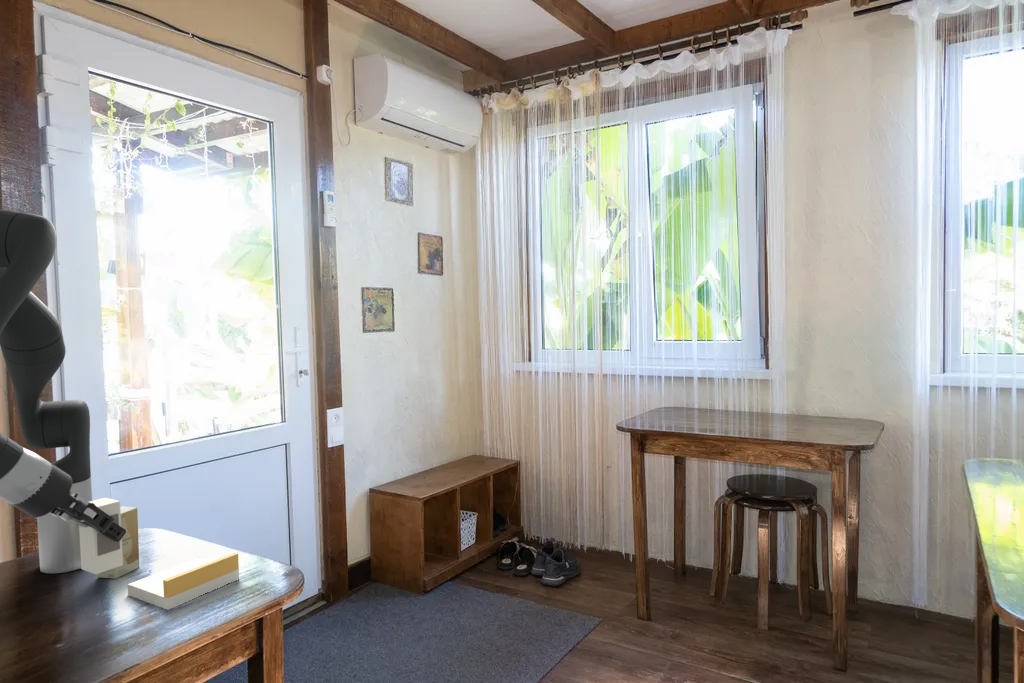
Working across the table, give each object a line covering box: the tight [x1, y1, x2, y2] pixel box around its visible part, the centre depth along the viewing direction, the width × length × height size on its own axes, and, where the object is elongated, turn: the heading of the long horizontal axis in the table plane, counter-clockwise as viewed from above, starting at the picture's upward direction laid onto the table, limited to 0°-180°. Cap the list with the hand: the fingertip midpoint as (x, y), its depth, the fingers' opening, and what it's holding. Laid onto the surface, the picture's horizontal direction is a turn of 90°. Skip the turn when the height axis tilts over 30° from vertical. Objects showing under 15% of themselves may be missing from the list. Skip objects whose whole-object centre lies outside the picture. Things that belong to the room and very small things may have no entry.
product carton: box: [79, 497, 123, 575], centre depth 109 cm, size 5×4×11 cm
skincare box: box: [96, 505, 140, 579], centre depth 127 cm, size 6×4×12 cm
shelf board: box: [127, 552, 240, 611], centre depth 120 cm, size 12×14×5 cm
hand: (112, 533), depth 111 cm, fingers closed on product carton, 4 cm apart
